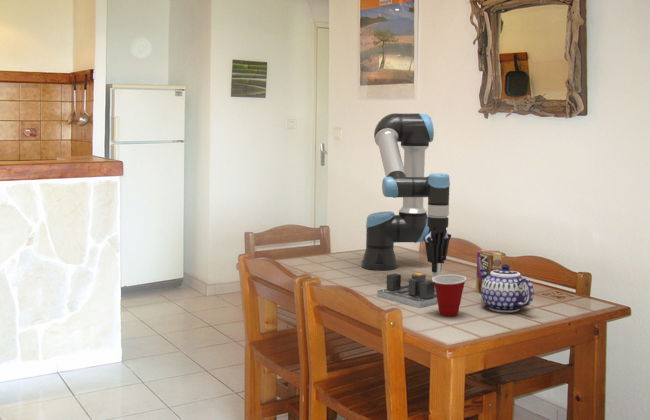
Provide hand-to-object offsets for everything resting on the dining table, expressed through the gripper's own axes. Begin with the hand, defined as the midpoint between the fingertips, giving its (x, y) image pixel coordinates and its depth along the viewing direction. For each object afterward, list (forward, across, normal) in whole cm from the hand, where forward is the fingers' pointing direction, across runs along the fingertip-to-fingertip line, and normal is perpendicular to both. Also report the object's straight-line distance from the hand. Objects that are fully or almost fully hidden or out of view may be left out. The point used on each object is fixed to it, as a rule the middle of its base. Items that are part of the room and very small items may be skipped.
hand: (436, 280), depth 253 cm
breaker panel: (+4, +13, +3) cm, 14 cm away
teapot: (+4, +2, +31) cm, 31 cm away
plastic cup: (+4, +22, +24) cm, 32 cm away
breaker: (+2, +9, 0) cm, 10 cm away
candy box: (+4, -11, +15) cm, 19 cm away
